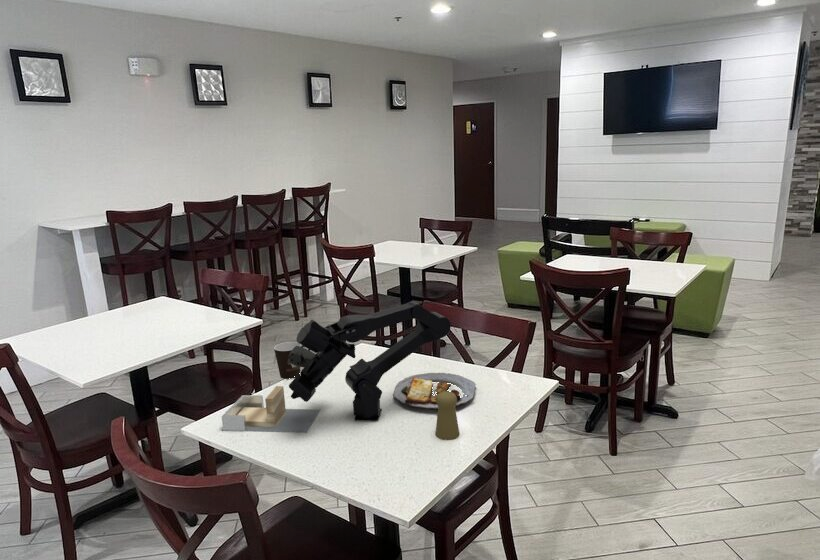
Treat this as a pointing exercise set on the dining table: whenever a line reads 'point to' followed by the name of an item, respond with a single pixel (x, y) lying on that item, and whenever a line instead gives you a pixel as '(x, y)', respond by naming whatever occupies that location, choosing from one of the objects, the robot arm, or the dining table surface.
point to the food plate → (420, 389)
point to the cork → (446, 416)
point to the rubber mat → (291, 422)
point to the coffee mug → (286, 360)
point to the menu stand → (267, 410)
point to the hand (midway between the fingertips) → (292, 397)
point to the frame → (232, 418)
